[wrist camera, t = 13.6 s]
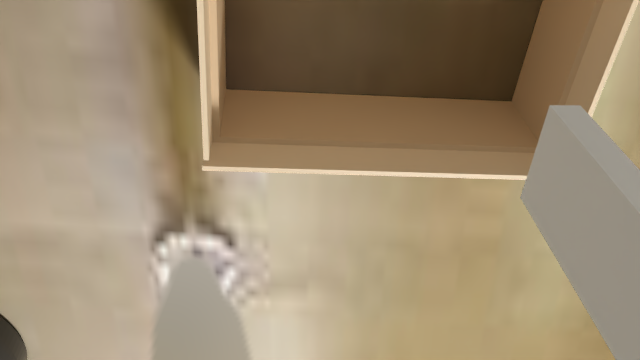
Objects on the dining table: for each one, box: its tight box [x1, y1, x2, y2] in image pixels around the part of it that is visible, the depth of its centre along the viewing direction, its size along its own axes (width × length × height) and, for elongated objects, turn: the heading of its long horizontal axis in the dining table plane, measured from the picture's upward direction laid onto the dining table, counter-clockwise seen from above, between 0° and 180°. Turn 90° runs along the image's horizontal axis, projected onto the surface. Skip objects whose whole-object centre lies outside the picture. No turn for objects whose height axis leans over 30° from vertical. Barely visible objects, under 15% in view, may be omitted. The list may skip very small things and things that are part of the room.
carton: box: [197, 0, 639, 180], centre depth 34 cm, size 22×14×8 cm, turn 85°
